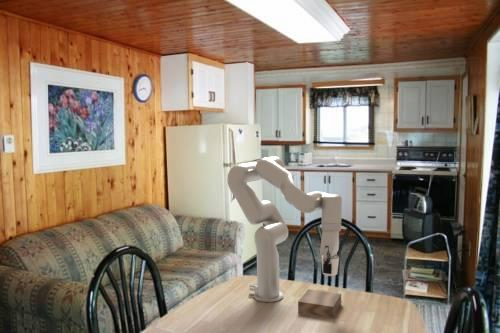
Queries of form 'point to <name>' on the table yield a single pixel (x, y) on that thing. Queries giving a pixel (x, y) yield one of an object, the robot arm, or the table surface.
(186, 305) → the table surface
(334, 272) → the shot glass
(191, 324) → the table surface
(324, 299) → the walnut block
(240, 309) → the table surface
